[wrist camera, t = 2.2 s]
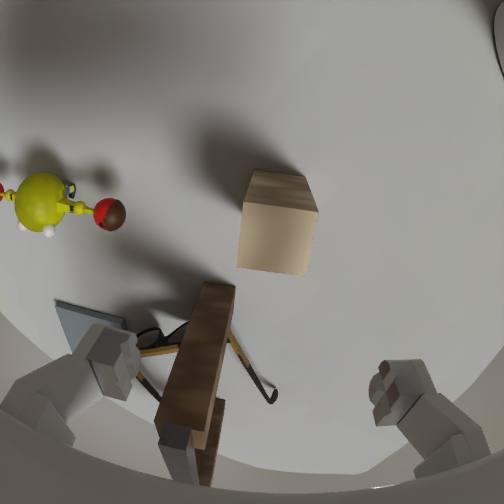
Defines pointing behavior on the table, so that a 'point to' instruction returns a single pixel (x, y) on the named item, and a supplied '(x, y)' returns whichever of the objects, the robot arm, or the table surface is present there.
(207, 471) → the rod stand
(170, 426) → the rod
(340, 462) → the table surface
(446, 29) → the table surface
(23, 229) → the toy figure
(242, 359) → the sunglasses
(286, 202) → the block
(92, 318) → the pad
